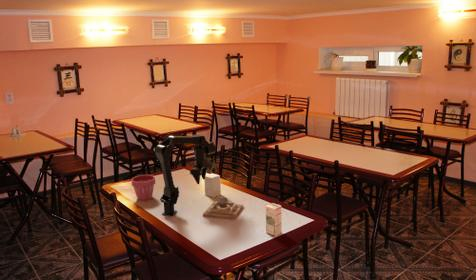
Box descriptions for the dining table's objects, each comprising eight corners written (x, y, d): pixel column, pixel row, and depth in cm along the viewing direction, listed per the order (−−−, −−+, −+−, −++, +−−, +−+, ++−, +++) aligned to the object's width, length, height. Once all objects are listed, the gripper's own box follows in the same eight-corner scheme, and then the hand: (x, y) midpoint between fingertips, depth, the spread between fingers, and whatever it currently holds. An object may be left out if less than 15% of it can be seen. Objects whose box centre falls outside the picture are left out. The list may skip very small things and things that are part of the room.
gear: (228, 212, 236) (227, 201, 234) (214, 211, 238) (213, 200, 237) (232, 207, 244) (232, 196, 242) (218, 205, 246) (218, 195, 244)
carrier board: (234, 219, 230) (234, 213, 230) (202, 216, 235) (202, 210, 234) (243, 207, 247) (243, 201, 246) (213, 204, 252) (213, 199, 251)
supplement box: (221, 194, 269) (220, 175, 266) (212, 197, 264) (211, 178, 261) (213, 191, 274) (212, 173, 271) (204, 195, 269) (203, 175, 266)
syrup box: (282, 232, 213) (282, 205, 210) (274, 236, 209) (274, 208, 205) (272, 229, 217) (272, 202, 213) (265, 233, 212) (265, 205, 209)
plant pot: (140, 203, 257) (138, 183, 254) (128, 197, 267) (127, 178, 264) (160, 197, 266) (159, 178, 263) (149, 192, 276) (147, 173, 273)
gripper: (207, 161, 239) (208, 187, 242) (218, 152, 256) (219, 177, 260) (188, 160, 242) (190, 186, 245) (200, 152, 259) (201, 176, 263)
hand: (201, 181), depth 253 cm, fingers open, 9 cm apart
